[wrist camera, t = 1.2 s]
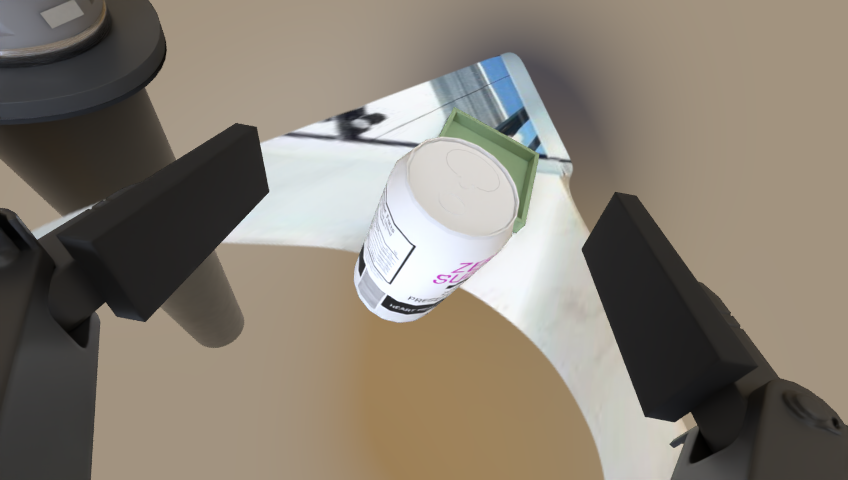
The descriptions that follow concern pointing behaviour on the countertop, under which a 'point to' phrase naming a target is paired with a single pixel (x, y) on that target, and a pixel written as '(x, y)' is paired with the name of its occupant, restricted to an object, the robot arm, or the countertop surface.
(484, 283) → the countertop surface
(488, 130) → the can tray
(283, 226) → the countertop surface
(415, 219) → the supplement can
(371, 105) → the countertop surface
